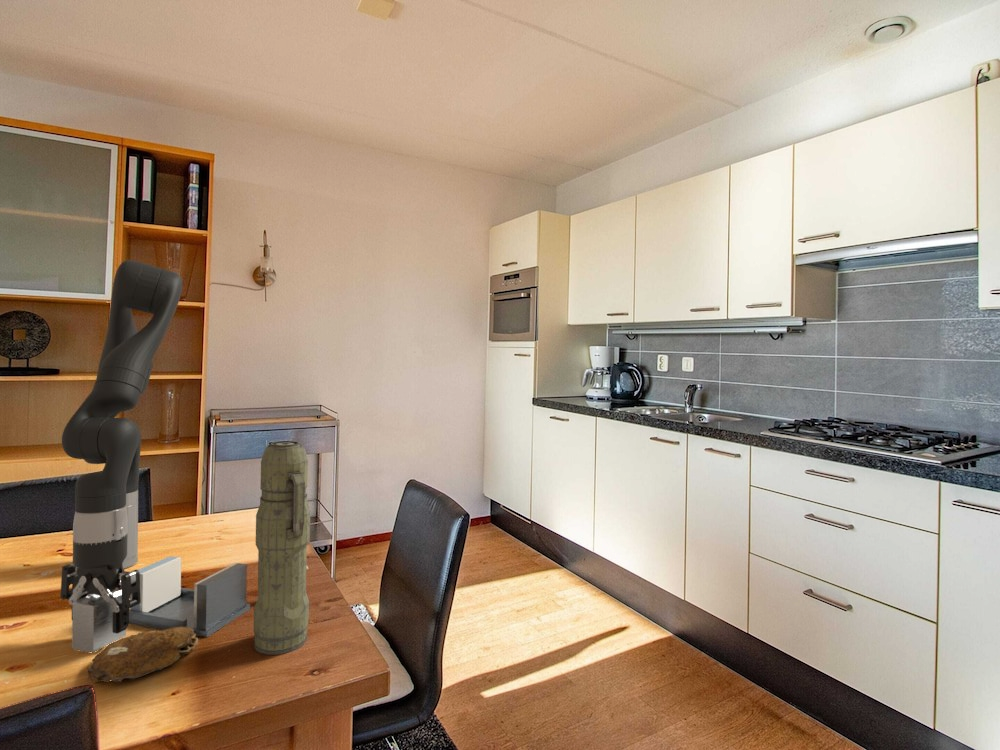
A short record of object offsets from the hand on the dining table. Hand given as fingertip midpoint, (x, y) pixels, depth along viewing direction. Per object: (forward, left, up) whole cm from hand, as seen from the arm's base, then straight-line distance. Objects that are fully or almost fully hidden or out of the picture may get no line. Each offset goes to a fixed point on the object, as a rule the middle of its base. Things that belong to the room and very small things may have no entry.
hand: (100, 627), depth 93 cm
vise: (+7, +12, -3) cm, 14 cm away
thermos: (+29, +9, -3) cm, 30 cm away
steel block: (0, 0, -3) cm, 3 cm away
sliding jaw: (0, +12, -1) cm, 12 cm away
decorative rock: (+12, -2, -3) cm, 13 cm away
